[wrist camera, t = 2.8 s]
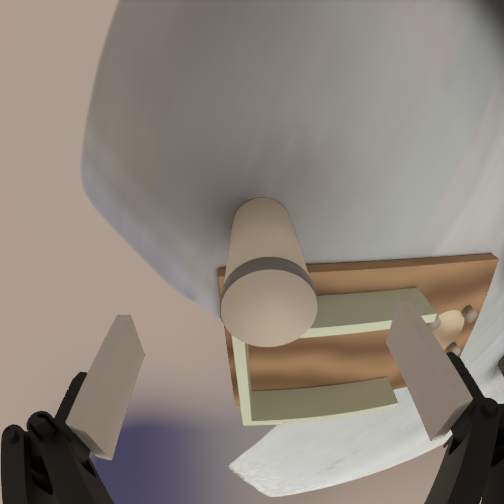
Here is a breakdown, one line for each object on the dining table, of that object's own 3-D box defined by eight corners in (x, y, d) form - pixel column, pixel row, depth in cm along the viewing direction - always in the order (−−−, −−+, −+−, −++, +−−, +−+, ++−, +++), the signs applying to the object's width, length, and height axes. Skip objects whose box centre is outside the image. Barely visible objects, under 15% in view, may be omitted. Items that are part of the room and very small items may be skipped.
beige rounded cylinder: (229, 198, 25) (214, 271, 14) (291, 196, 25) (322, 267, 14) (234, 253, 27) (224, 349, 16) (290, 250, 27) (314, 344, 16)
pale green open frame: (233, 299, 27) (231, 332, 23) (417, 287, 27) (437, 313, 23) (243, 395, 34) (243, 425, 30) (385, 381, 34) (395, 407, 30)
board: (219, 268, 28) (216, 285, 25) (491, 253, 27) (505, 265, 25) (236, 397, 37) (235, 415, 34) (445, 368, 36) (453, 382, 33)
